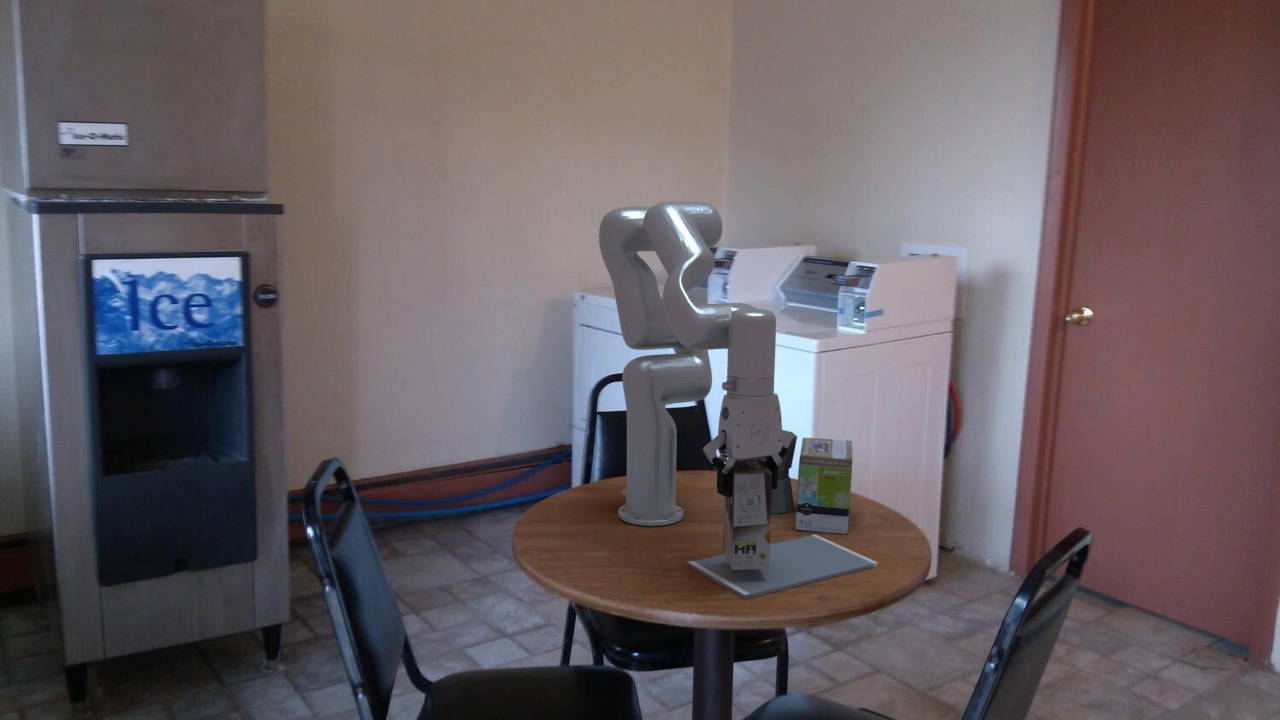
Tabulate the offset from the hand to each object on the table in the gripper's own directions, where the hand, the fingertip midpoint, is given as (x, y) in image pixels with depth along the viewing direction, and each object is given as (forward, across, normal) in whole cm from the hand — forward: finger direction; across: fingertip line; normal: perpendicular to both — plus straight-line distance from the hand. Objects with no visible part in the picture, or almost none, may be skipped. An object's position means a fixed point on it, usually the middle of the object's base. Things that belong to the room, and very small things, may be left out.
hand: (747, 490), depth 160 cm
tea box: (+15, +30, +15) cm, 37 cm away
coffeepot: (+15, +27, +27) cm, 41 cm away
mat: (+14, +8, 0) cm, 16 cm away
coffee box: (+12, 0, 0) cm, 12 cm away
